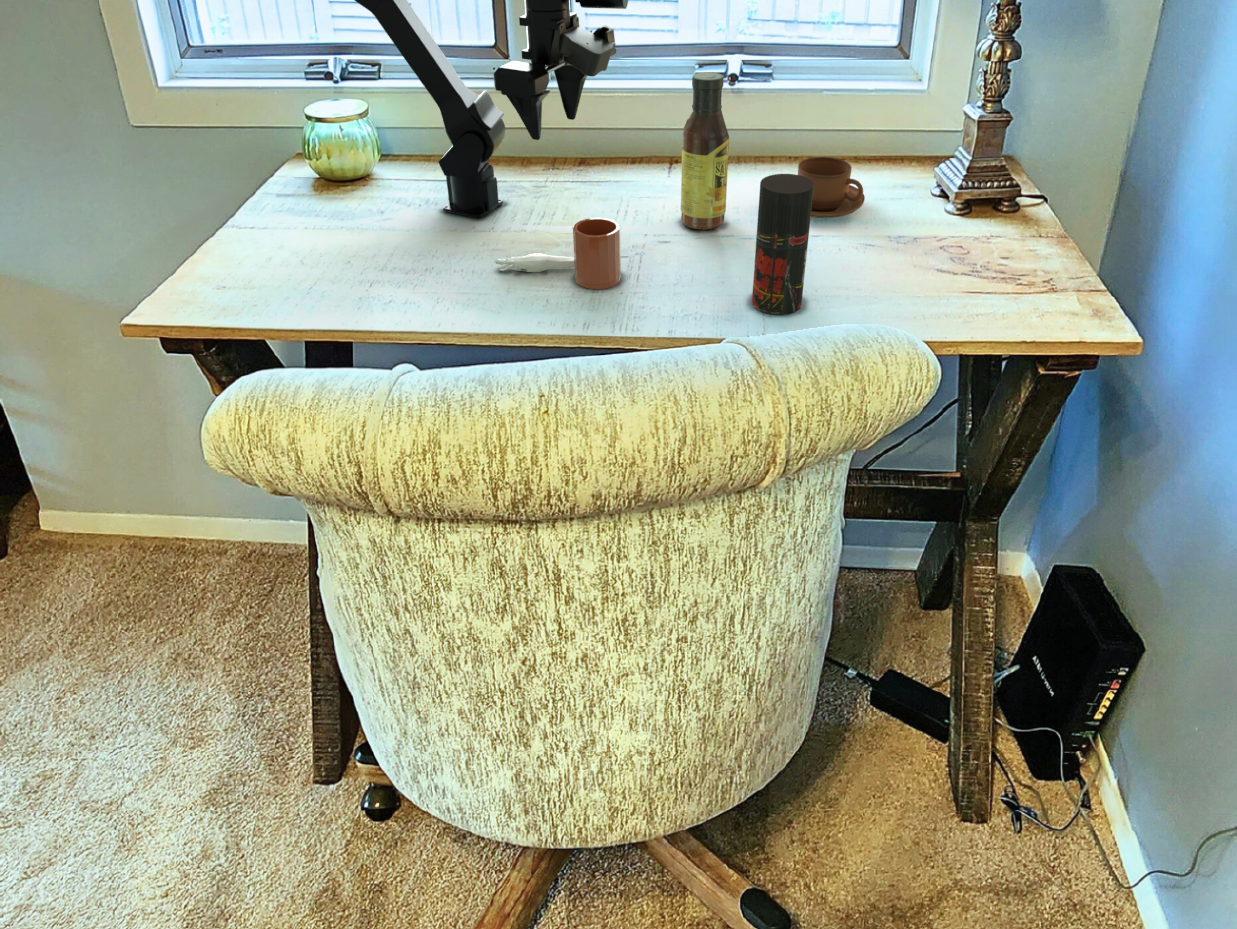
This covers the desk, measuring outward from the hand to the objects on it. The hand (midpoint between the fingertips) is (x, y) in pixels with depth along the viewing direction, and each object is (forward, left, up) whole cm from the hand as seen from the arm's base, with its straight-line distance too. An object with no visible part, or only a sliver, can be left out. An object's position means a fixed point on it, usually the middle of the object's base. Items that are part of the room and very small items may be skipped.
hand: (554, 128), depth 139 cm
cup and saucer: (+33, +18, -12) cm, 40 cm away
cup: (+15, -16, -12) cm, 25 cm away
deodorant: (+38, -12, -12) cm, 42 cm away
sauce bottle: (+20, +6, -12) cm, 24 cm away
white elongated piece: (+9, -16, -12) cm, 22 cm away
